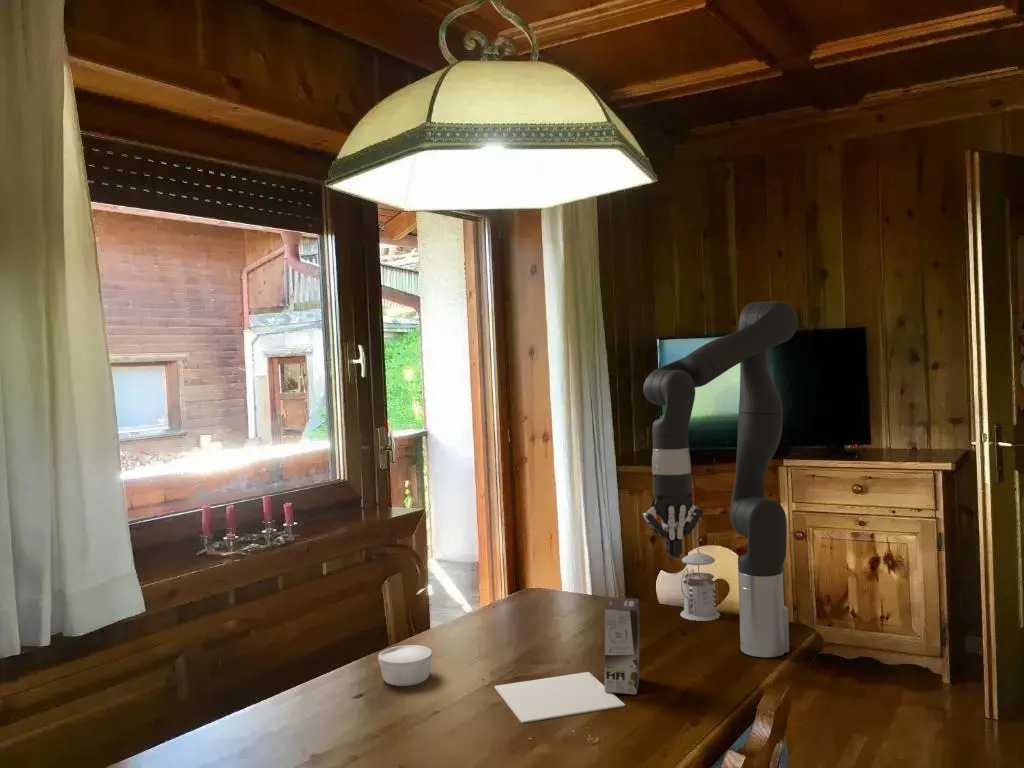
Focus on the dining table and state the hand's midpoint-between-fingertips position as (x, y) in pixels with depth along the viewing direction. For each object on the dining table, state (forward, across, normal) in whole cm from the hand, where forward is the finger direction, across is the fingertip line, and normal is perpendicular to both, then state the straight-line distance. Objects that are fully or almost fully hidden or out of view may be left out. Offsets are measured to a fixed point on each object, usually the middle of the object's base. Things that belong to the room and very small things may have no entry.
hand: (673, 557), depth 170 cm
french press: (+24, -24, -35) cm, 49 cm away
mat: (+24, +26, 0) cm, 35 cm away
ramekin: (+25, +51, -21) cm, 60 cm away
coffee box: (+24, +12, 0) cm, 27 cm away
